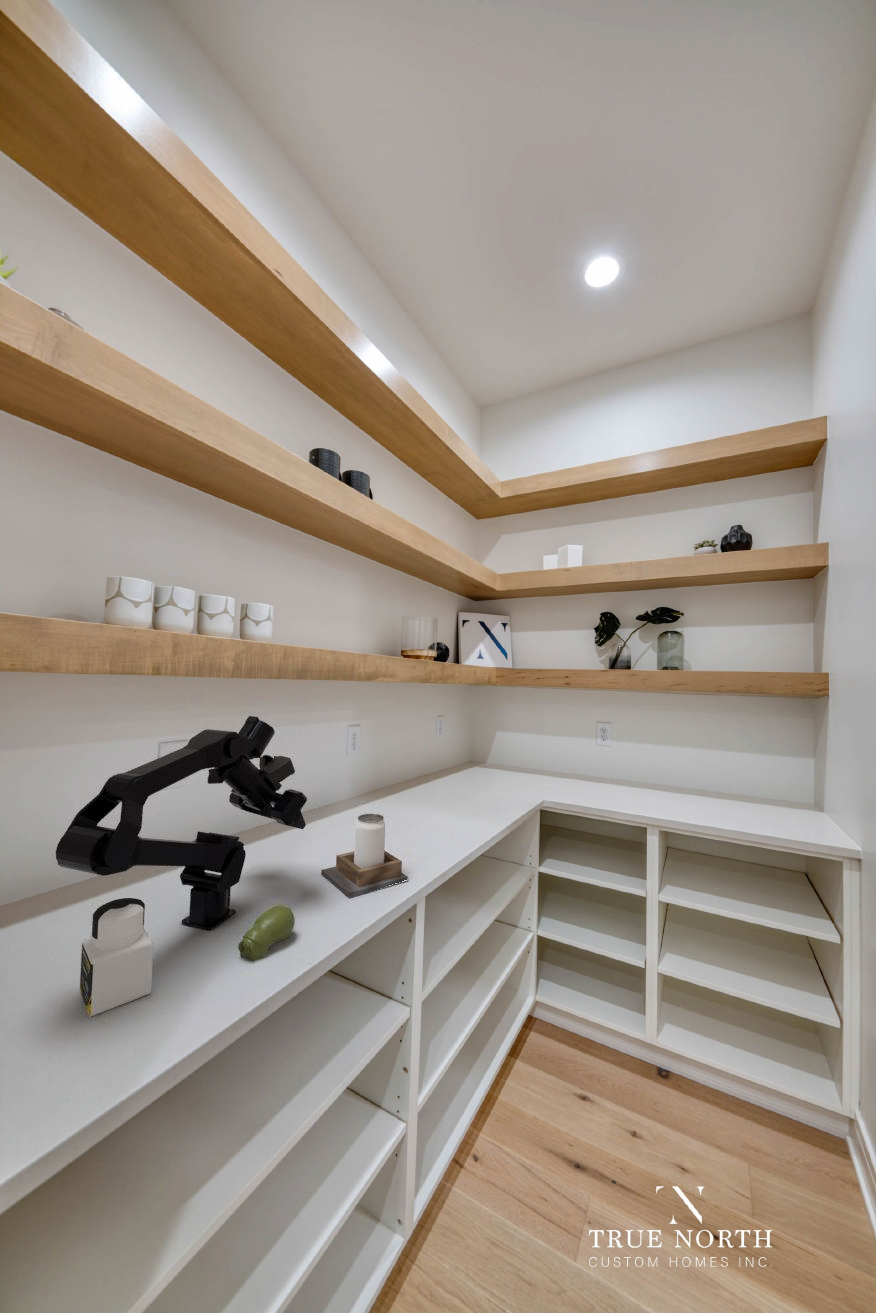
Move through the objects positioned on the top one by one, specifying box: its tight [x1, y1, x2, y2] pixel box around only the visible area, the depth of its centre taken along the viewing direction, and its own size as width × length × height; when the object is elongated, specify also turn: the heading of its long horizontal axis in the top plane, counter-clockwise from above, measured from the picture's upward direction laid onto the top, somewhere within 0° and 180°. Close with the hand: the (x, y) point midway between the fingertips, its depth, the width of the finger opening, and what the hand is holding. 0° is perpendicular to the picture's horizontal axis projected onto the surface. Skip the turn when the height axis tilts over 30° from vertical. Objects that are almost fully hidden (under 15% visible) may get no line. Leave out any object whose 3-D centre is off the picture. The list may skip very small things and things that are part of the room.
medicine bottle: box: [79, 897, 154, 1017], centre depth 67 cm, size 7×7×12 cm
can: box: [353, 813, 386, 869], centre depth 106 cm, size 6×6×12 cm
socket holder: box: [320, 850, 409, 899], centre depth 106 cm, size 14×13×4 cm
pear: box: [237, 904, 296, 962], centre depth 80 cm, size 6×5×10 cm
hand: (289, 822), depth 103 cm, fingers open, 9 cm apart
